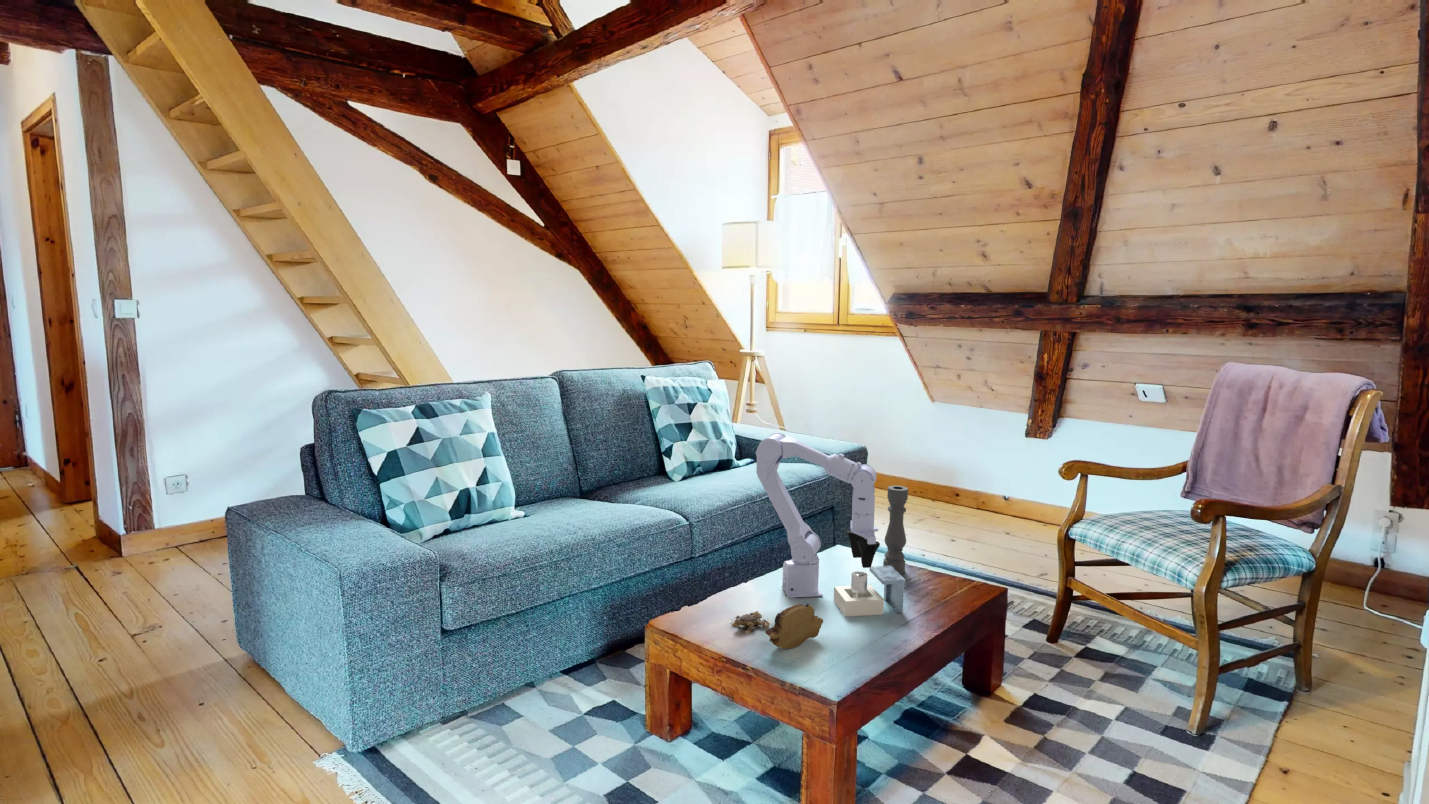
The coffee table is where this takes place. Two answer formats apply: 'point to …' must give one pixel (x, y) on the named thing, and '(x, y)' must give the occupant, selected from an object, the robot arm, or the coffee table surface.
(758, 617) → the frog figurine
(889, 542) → the candle holder
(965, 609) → the coffee table surface
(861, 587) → the peg
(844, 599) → the socket block
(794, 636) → the wooden carving
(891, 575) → the grey arch block
